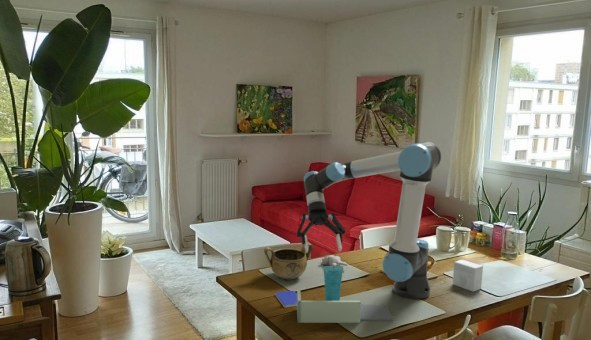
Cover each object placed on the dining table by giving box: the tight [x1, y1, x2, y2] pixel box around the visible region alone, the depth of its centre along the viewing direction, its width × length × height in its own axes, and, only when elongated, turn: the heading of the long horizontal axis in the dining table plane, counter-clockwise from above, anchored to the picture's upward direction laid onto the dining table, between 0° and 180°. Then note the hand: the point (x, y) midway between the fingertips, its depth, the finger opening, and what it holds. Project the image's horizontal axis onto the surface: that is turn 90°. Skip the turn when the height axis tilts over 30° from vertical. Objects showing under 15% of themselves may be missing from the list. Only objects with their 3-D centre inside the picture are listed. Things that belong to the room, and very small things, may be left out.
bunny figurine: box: [321, 254, 348, 267], centre depth 229 cm, size 10×5×15 cm
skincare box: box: [452, 259, 484, 292], centre depth 206 cm, size 10×6×10 cm, turn 37°
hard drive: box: [275, 290, 303, 308], centre depth 191 cm, size 2×8×12 cm
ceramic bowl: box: [263, 242, 314, 280], centre depth 213 cm, size 22×17×15 cm
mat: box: [360, 304, 394, 322], centre depth 180 cm, size 12×12×1 cm
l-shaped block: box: [296, 288, 362, 324], centre depth 177 cm, size 23×11×8 cm, turn 91°
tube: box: [323, 265, 344, 301], centre depth 177 cm, size 7×5×19 cm, turn 99°
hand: (323, 250), depth 188 cm, fingers open, 13 cm apart
